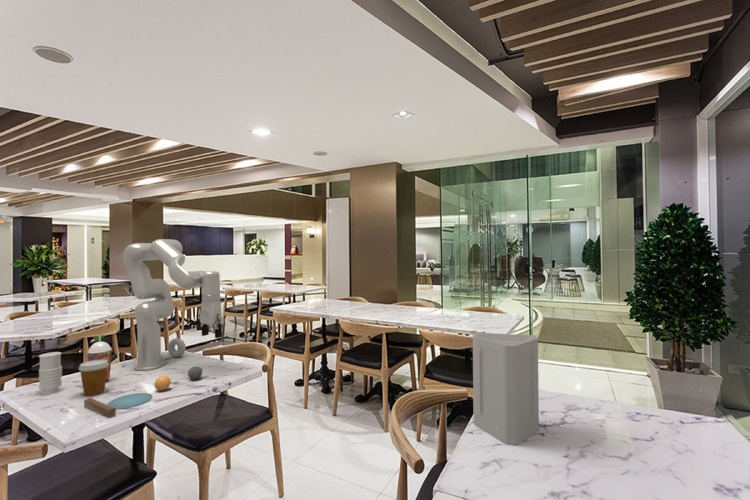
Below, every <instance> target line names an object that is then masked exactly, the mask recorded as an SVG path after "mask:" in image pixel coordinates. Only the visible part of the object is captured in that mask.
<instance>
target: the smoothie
mask: <svg viewBox="0 0 750 500" xmlns="http://www.w3.org/2000/svg"><path fill="white" fill-rule="evenodd" d="M101 337H102V336H101V334H100V335H98V341H97V342H95V343H92V345H91V346H90V347H89V349H88V351H87V352H86V353H87V361H92V360H102V359H104V360H107V361H108V363H109V365H108V367H107V374H106V382H105V383H107V382H109V379H110V377H111V370H110V369H111V363H112V349H113V348H112V346H110V344H109V343H108V342H105V341H102V339H101Z"/></svg>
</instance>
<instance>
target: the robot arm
mask: <svg viewBox="0 0 750 500" xmlns="http://www.w3.org/2000/svg"><path fill="white" fill-rule="evenodd" d="M182 252H183V245H182V243H181V242H180V241H179V240H176V239H170V238H167V239H165V238H162V239H161V238H159V239H155V240H153V241H152V242H151V243H150V242H149V243H148V242H147V243H146V242H135V243H131V244H129V245H128V246H126V247H125V249H124V251H123V255H122V258H123V262H124V266H125V268H126V270H127V272H128V275H129V279H130V284H131V288H132V291H133V295H134V297H135V298H136V299H138V300H148V301H144V302H140V303H139V304H137V305H136V307H135V309H134V316H135V320H136V328H137V329H136V330H137V364H135V365H134V366H133V369H134V370H135V371H152V370H156V369H159V368H162V367H163V366H165V361H166V360H168V359H171V357H172V356H171V355H170V354H161V353H162V351H161V350H162V348H161V347H162V345H161V341H162V338H161V335H162V333H161V326H160V324H159V322H157V320H161V319H166V318H168V317H171V316H172V314H173V313H174V307H175V306H174V302H173V298H172V293H171V290H170V287H169V284H168V282H167V281H166V280H164V279H163V278H152V276H151V271H150V269H149V267H148V266H147V265H146V264H145V263H144V262H143V261H161V262H162V263H163V264H165V266H166V267H167V270H168V274H169V275H168V276H169V278H170V280H172V281H173V282H174V283H175V284H176V285H178V286H179V287H180V288H182V289H188V290H189V289H197V288H201V302H200V310H199V312H200V313H199V316H198V320H199V323H200V327H201V336H202V337H205V336H208V335H210V331H209V330H210V329H209V326H214V328H215V329H214V338H215V339H219V338H222V336H223V327H224V325H225V318H224V317H223V316H222V315H223V314H222V305H221V286H220V285H221V283H220V282H221V281H220V279H221V276H220V272H219V271H215V270H214V271H206V270H196V271H195V270H193V271H187V270H185V269H184V268H183V267H182V266H183V265H184V263H185V262H186V256H185V255H184V254H183V253H182ZM149 299H154V300H149Z"/></svg>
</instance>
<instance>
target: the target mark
mask: <svg viewBox="0 0 750 500" xmlns="http://www.w3.org/2000/svg"><path fill="white" fill-rule="evenodd" d="M152 399H153V394H151V393H147V392H138V393H137V392H136V393H130V394H125V395H121V396H119V397H117V398H114V399H112V400H110V401H109V402H108V403H107V405H109V406H111V407H114V408H116V410H121V409H122V410H123V409H128V408H133V407H138V406H141V405H143V404H146V403H147V402H149V401H151V400H152Z"/></svg>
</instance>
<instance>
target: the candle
mask: <svg viewBox="0 0 750 500" xmlns="http://www.w3.org/2000/svg"><path fill="white" fill-rule="evenodd" d="M61 355H62V352H60V351H53V352H46V353H42V354H39V355H38V358H39V369H38V381H39V388H38V389H39V390H40V391H41V392H40V395H42V396H43V395H44V396H48V395H53V394H56V393H58V392H60V391H61V389H60V387H61V386H62V385H63V384H62V377H63V366H62V365H61V363H62V361H61Z"/></svg>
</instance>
